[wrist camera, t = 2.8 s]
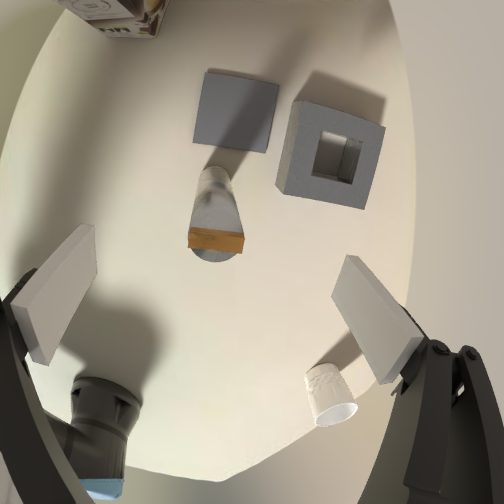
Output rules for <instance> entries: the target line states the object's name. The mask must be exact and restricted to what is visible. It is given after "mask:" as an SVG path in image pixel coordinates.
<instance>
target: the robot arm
mask: <svg viewBox="0 0 504 504" xmlns="http://www.w3.org/2000/svg"><path fill="white" fill-rule="evenodd" d="M96 275H97V263H96V250H95V233H94V225H86V224H81V225H79V226H78V227H77V228H76V229H75V230H74V231H73V232H72V233H71V234H70V235H69V237H68V238H67V239H66V240H65V241H64V242H63V243H62V244H61V245H60V246H59V247H58V248H57V249H56V250H55V251H54V252H53V253H52V254H51V256H50V257H49V258H48V259H47V260H46V261H45V262H44V263H43V264H42V266H41V267H40V268H39V269H36V268H34V269H32V270H31V271H29V272H28V273H26V274H25V275H24V276H23V277H22V278H21V280H20V281H19V282H18V283H17V284H16V285H15V288H13V289H12V290H11V291H10V293H9V294H8V295H7V296H6V298H5V299H4V300H3V301H1V298H0V504H95V503H94V501H93V500H92V499H91V498H95V499H102V500H116V499H118V498H119V497H120V496H121V494H122V487H123V482H124V469H125V458H126V448H127V439H128V436H129V434H130V433H131V431H132V429H133V427H134V426H135V424H136V422H137V420H138V418H139V414H140V404H139V402H138V400H137V399H136V397H135V396H134V395H133V394H131V393H130V392H129V391H127V390H126V389H124V388H123V387H121V386H119V385H117V384H114V383H112V382H109V381H106V380H103V379H99V378H91V377H86V378H80V379H78V380H76V381H75V382H74V384H73V387H72V390H71V411H72V420H71V424H68V423H66V422H65V421H63V420H61V419H59V418H58V417H56V416H54V415H53V414H51V413H49V412H48V411H46V410H45V409H43V408H42V405H41V403H40V400H39V397H38V395H37V392H36V389H35V387H34V384H33V381H32V378H31V375H30V372H29V369H28V365H27V363H26V361H25V356H26V354H27V352H29V354H30V356H31V358H32V361H33V362H36V363H39V364H43V365H46V366H49V364H50V362H51V360H52V358H53V355H54V353H55V351H56V349H57V347H58V345H59V343H60V341H61V339H62V337H63V335H64V333H65V331H66V329H67V327H68V325H69V323H70V321H71V319H72V317H73V315H74V313H75V312H76V310H77V308H78V306H79V304H80V302H81V301H82V299H83V297H84V295H85V294H86V292H87V290H88V288H89V287H90V285H91V283H92V282H93V280H94V278H95V277H96ZM331 297H332V299H333V301H334V302H335V304H336V306H337V308H338V309H339V311H340V313H341V315H342V316H343V318H344V320H345V322H346V324H347V325H348V327H349V329H350V331H351V332H352V334H353V336H354V338H355V340H356V341H357V343H358V345H359V347H360V349H361V351H362V352H363V354H364V356H365V358H366V360H367V362H368V364H369V365H370V367H371V369H372V371H373V373H374V375H375V377H376V379H377V380H378V382H379V384H380V385H381V384H387V383H392V382H393V381H394V380H395V379H396V377H397V376H398V374H399V373H400V374H401V376H402V377H403V379H402V380H401V382H400V383H399V384H398V386H397V387H396V388H395V390H394V391H393V392H392V393H391V396H393V395H394V393H396V392H397V395H396V398H395V402H394V406H393V409H392V413H391V417H390V420H389V423H388V426H387V430H386V433H385V436H384V439H383V442H382V445H381V448H380V450H379V453H378V456H377V459H376V461H375V464H374V466H373V469H372V472H371V474H370V476H369V479H368V481H367V484H366V486H365V489H364V491H363V493H362V495H361V497H360V499H359V501H358V504H504V426H503V422H502V418H501V415H500V412H499V408H498V405H497V402H496V398H495V395H494V392H493V389H492V385H491V382H490V380H489V377H488V374H487V371H486V369H485V366H484V363H483V361H482V358H481V356H480V354H479V353H478V352H477V350H476V349H475V348H473V347H470V346H467V345H465V346H463V347H462V348H461V350H460V351H459V352H458V353H452V352H451V351H450V349H449V348H448V347H447V346H446V345H445V344H444V343H442V342H441V341H438V340H430V339H429V338H428V337H427V336H426V334H425V333H424V332H423V331H422V329H421V328H420V326H419V325H418V324H417V323H415V322H416V321H415V320H414V319H413V318H412V317H411V315H410V314H409V313H408V311H407V310H406V309H405V308H404V307H402V306H401V305H400V304H399V303H398V302H397V301H396V300H395V299H394V297H393V296H392V295H391V294H390V293H389V291H388V290H387V289H386V288H385V287H384V285H383V284H382V283H381V282H380V281H379V280H378V278H377V277H376V276H375V275H374V274H373V273H372V271H371V270H370V269H369V268H368V267H367V266H366V265H365V263H364V262H363V261H362V260H361V259H360V258H359V257H358V256H352V255H346V258H345V261H344V263H343V266H342V269H341V272H340V274H339V277H338V280H337V282H336V285H335V288H334V290H333V293H332V295H331ZM463 385H464V391H463V392H462V393H461V395H459V396H458V391H459V389H460V388H461V387H462V386H463Z"/></svg>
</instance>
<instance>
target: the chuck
mask: <svg viewBox="0 0 504 504" xmlns="http://www.w3.org/2000/svg"><path fill="white" fill-rule="evenodd" d="M385 129H386V127H383V126H381V125H378V124H375V123H373V122H370V121H367V120H365V119H362V118H359V117H356V116H353V115H350V114H347V113H344V112H341V111H338V110H335V109H332V108H328V107H325V106H322V105H318V104H315V103H311V102H307V101H304V100H303V101H297V102H293V103H292V108H291V113H290V118H289V122H288V127H287V132H286V137H285V141H284V146H283V151H282V155H281V160H280V165H279V169H278V174H277V179H276V183H275V185H276V187H277V188H278V189H279V190H280V191H281V192H282V193H283V194H285V195H291V196H297V197H302V198H308V199H313V200H319V201H324V202H329V203H334V204H339V205H344V206H349V207H354V208H358V209H363V210H364V209H365V205H366V202H367V199H368V195H369V192H370V188H371V185H372V181H373V178H374V174H375V170H376V166H377V162H378V159H379V155H380V150H381V146H382V142H383V138H384V134H385ZM321 131H324V132H327V133H331V134H334V135H338V136H341V137H345V138H347V141H346V145H345V150H344V154H343V158H342V162H341V166H340V170H339V174H338V177H336V176H332V175H328V174H323V173H319V172H314V171H312V169H313V165H314V161H315V156H316V152H317V148H318V143H319V139H320V134H321Z"/></svg>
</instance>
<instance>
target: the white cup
mask: <svg viewBox="0 0 504 504" xmlns="http://www.w3.org/2000/svg"><path fill="white" fill-rule="evenodd" d="M304 380H305V384H306V388H307V394H308V398H309V402H310V406H311V410H312V413H313V417H314V421H315V424H316V425H318V426H331V425H335V424H338V423H341V422H343V421H345V420H347V419H348V418H350V417H351V416H352V415H353V414H354V413H355V412H356V411H357V409H358V405H357V403H356V401H355V399H354V397H353V395H352V393H351V391H350V389H349V387H348V385H347V384H346V382H345V380H344V378H343V377H342V376H341V374H340V372H339V370H338V368H337V366H335V365H334V364H332V363H324V364H320V365H317V366H315V367H314V368H312V369H310V370H309V371H308V372H307V373H306V375H305V378H304Z"/></svg>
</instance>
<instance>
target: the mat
mask: <svg viewBox="0 0 504 504" xmlns="http://www.w3.org/2000/svg"><path fill="white" fill-rule="evenodd" d="M278 89H279V85H276V84H271V83H266V82H262V81H256V80H251V79H246V78H240V77H234V76H228V75H221V74H213V73H205V77H204V82H203V87H202V92H201V97H200V102H199V108H198V113H197V119H196V125H195V131H194V137H193V143H198V144H206V145H214V146H221V147H228V148H235V149H241V150H247V151H253V152H259V153H265V152H266V147H267V142H268V137H269V133H270V128H271V123H272V118H273V113H274V108H275V103H276V98H277V94H278Z"/></svg>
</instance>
